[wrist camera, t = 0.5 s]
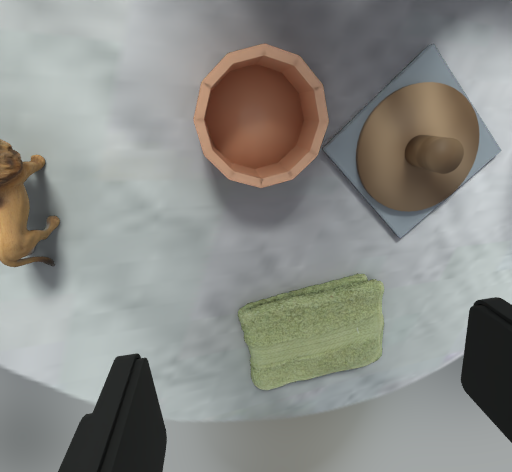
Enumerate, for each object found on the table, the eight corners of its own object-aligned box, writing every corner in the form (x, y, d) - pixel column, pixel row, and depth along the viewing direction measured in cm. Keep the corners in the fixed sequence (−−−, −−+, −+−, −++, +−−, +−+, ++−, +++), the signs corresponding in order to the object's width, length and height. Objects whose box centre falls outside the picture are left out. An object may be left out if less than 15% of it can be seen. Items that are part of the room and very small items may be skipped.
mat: (428, 45, 34) (433, 43, 33) (495, 149, 38) (501, 150, 37) (322, 148, 36) (324, 149, 35) (397, 235, 40) (400, 238, 40)
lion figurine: (-27, 124, 32) (-115, 130, 23) (32, 116, 32) (-33, 118, 24) (32, 267, 37) (-22, 313, 28) (82, 258, 37) (44, 302, 29)
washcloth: (380, 352, 47) (391, 369, 44) (252, 381, 46) (255, 400, 43) (375, 266, 42) (388, 278, 39) (233, 296, 41) (235, 311, 38)
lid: (432, 52, 33) (470, 41, 28) (495, 150, 37) (538, 156, 32) (330, 149, 35) (349, 155, 30) (401, 232, 39) (428, 249, 35)
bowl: (256, 29, 32) (265, 12, 26) (330, 120, 35) (352, 122, 30) (175, 117, 33) (167, 119, 28) (253, 195, 37) (260, 210, 31)
